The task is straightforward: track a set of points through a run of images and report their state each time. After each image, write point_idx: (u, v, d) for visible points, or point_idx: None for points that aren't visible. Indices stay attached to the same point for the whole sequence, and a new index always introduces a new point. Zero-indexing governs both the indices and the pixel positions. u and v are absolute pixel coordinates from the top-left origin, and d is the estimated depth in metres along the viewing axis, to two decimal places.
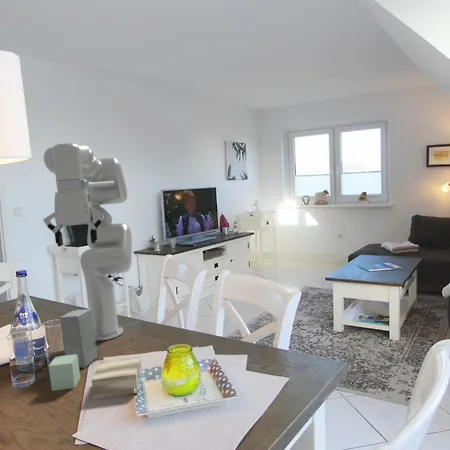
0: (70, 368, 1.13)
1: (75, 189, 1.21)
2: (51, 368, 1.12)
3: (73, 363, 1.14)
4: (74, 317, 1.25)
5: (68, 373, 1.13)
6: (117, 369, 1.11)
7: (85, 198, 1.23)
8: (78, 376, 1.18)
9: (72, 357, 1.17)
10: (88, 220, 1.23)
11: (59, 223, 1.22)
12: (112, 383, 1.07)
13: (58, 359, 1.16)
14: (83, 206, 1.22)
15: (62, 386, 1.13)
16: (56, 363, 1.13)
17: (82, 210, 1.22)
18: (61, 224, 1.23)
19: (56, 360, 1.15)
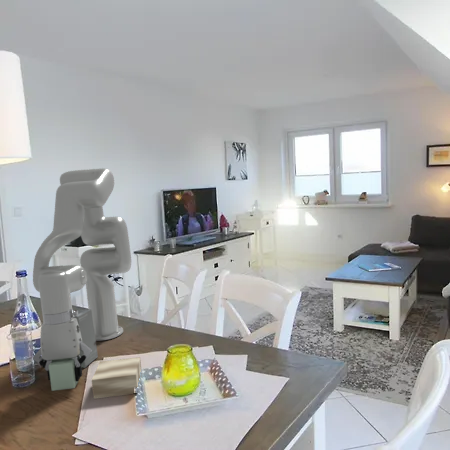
0: (70, 367, 1.13)
1: (63, 323, 1.11)
2: (51, 368, 1.12)
3: (73, 363, 1.14)
4: (74, 317, 1.25)
5: (68, 373, 1.13)
6: (117, 369, 1.11)
7: (74, 331, 1.13)
8: None
9: None
10: (77, 354, 1.14)
11: (45, 358, 1.13)
12: (112, 383, 1.07)
13: None
14: (71, 340, 1.13)
15: (62, 386, 1.13)
16: (56, 363, 1.13)
17: (70, 344, 1.13)
18: (48, 359, 1.13)
19: (56, 360, 1.15)
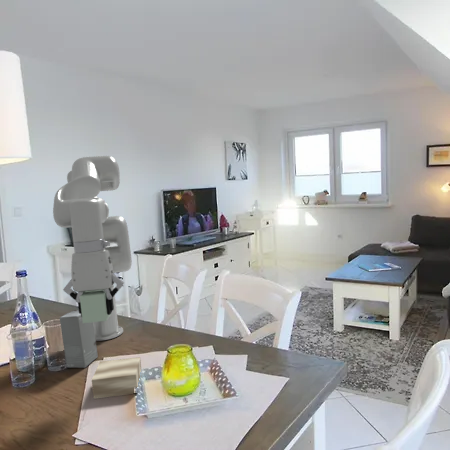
0: (101, 299, 1.08)
1: (95, 251, 1.07)
2: (82, 299, 1.08)
3: (105, 295, 1.09)
4: (74, 317, 1.25)
5: (100, 305, 1.08)
6: (117, 369, 1.11)
7: (106, 261, 1.08)
8: None
9: None
10: (109, 285, 1.09)
11: (77, 289, 1.08)
12: (112, 383, 1.07)
13: (89, 292, 1.11)
14: (103, 270, 1.08)
15: (93, 318, 1.08)
16: (87, 294, 1.09)
17: (102, 274, 1.08)
18: (79, 290, 1.08)
19: (87, 293, 1.10)
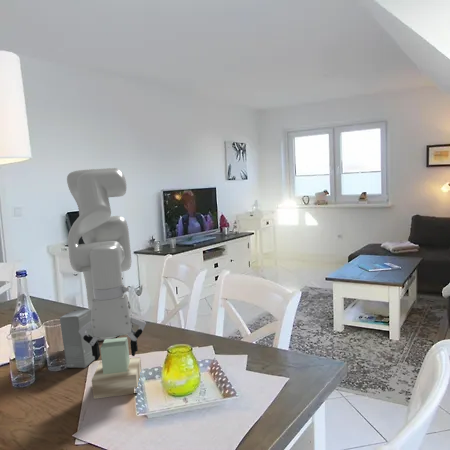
0: (122, 350, 1.09)
1: (115, 298, 1.07)
2: (103, 350, 1.08)
3: (125, 345, 1.10)
4: (74, 317, 1.25)
5: (120, 356, 1.09)
6: None
7: (126, 307, 1.09)
8: (128, 360, 1.14)
9: (123, 340, 1.12)
10: (129, 331, 1.09)
11: (96, 335, 1.09)
12: (112, 383, 1.07)
13: (109, 342, 1.12)
14: (123, 316, 1.09)
15: (114, 369, 1.09)
16: (107, 345, 1.09)
17: (122, 321, 1.09)
18: (99, 336, 1.09)
19: (107, 343, 1.11)
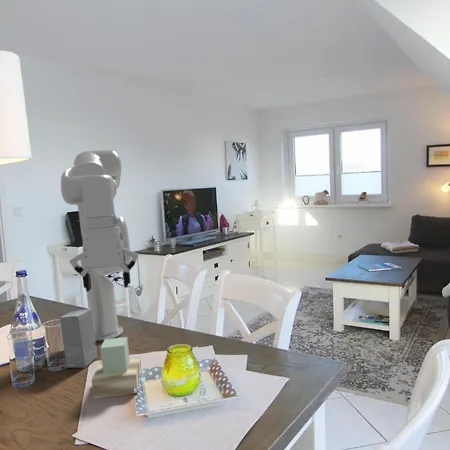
0: (122, 350, 1.09)
1: (107, 227, 1.06)
2: (103, 350, 1.08)
3: (125, 345, 1.10)
4: (74, 317, 1.25)
5: (120, 356, 1.09)
6: None
7: (118, 237, 1.07)
8: (128, 360, 1.14)
9: (123, 340, 1.12)
10: (121, 262, 1.08)
11: (88, 266, 1.07)
12: (112, 383, 1.07)
13: (109, 342, 1.12)
14: (115, 246, 1.07)
15: (114, 369, 1.09)
16: (107, 345, 1.09)
17: (114, 251, 1.07)
18: (90, 267, 1.07)
19: (107, 343, 1.11)
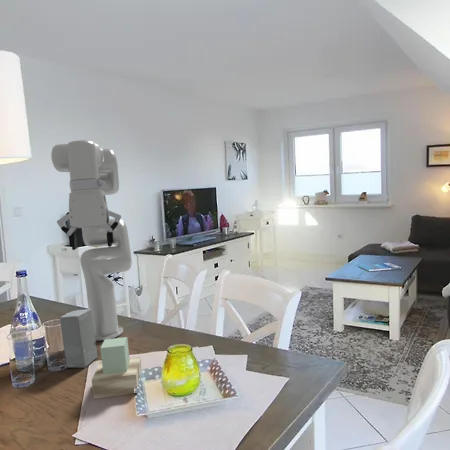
0: (122, 350, 1.09)
1: (91, 189, 1.14)
2: (103, 350, 1.08)
3: (125, 345, 1.10)
4: (74, 317, 1.25)
5: (120, 356, 1.09)
6: None
7: (101, 199, 1.15)
8: (128, 360, 1.14)
9: (123, 340, 1.12)
10: (104, 222, 1.16)
11: (74, 225, 1.15)
12: (112, 383, 1.07)
13: (109, 342, 1.12)
14: (99, 207, 1.15)
15: (114, 369, 1.09)
16: (107, 345, 1.09)
17: (98, 211, 1.15)
18: (76, 226, 1.15)
19: (107, 343, 1.11)
